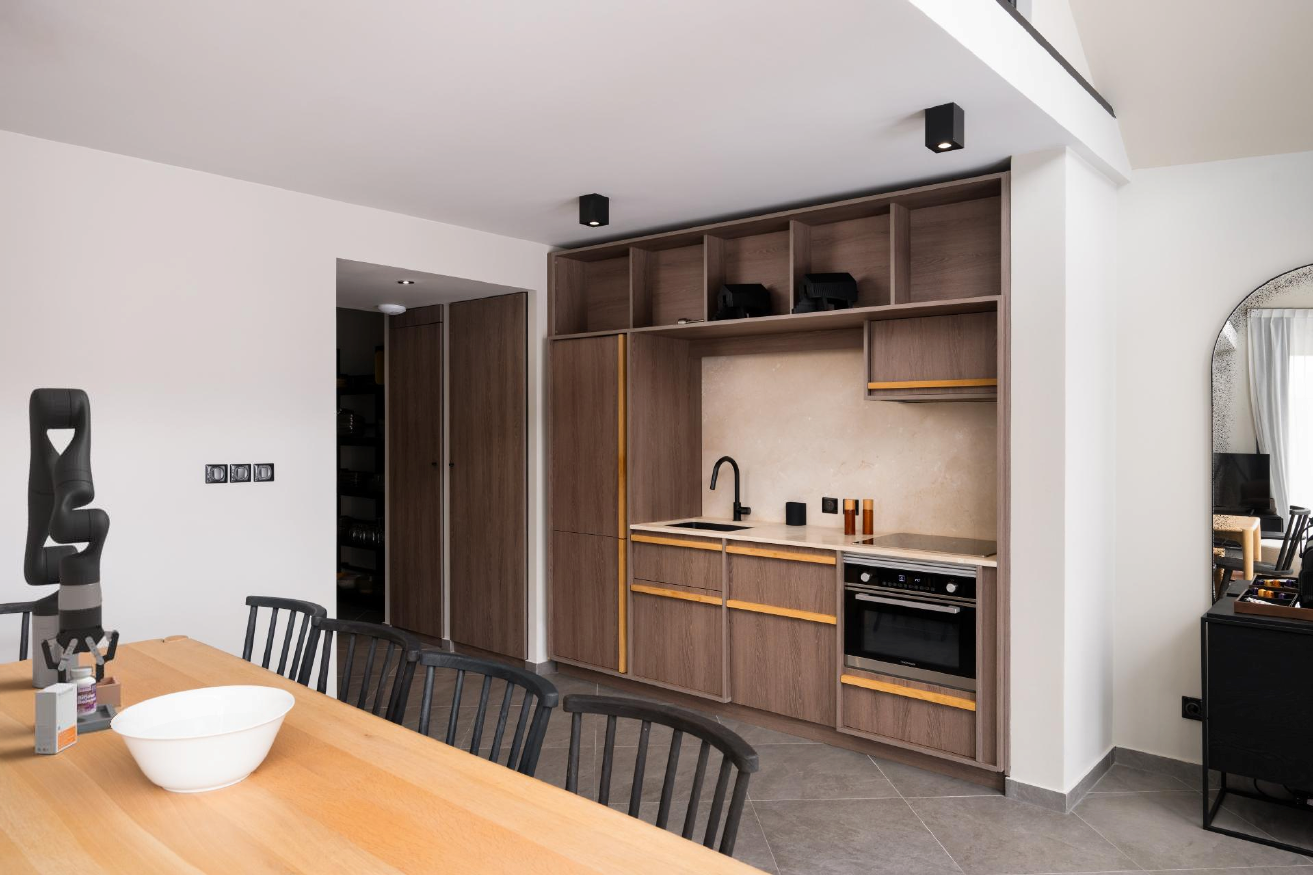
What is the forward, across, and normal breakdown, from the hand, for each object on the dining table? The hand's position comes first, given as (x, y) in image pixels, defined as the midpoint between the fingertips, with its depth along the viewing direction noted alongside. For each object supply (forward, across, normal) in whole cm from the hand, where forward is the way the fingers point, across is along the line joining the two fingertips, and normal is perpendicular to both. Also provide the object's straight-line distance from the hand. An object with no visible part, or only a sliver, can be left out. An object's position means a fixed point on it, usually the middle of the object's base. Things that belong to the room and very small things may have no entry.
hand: (81, 684), depth 179 cm
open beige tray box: (+9, -4, -13) cm, 16 cm away
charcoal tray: (+9, 0, 0) cm, 9 cm away
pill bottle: (+6, 0, 0) cm, 6 cm away
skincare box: (+9, +5, +12) cm, 16 cm away
